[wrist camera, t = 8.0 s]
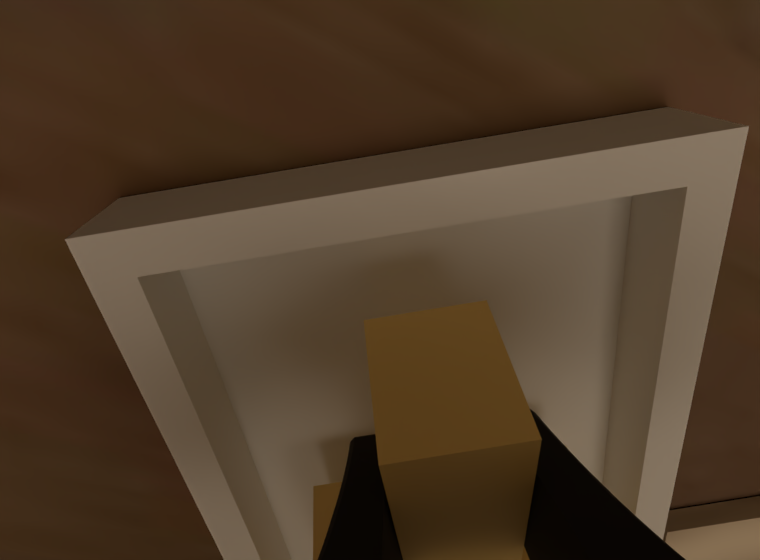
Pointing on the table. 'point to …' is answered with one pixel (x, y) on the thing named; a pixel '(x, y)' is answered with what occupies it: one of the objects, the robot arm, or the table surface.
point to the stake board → (716, 530)
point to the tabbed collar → (447, 437)
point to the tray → (420, 302)
